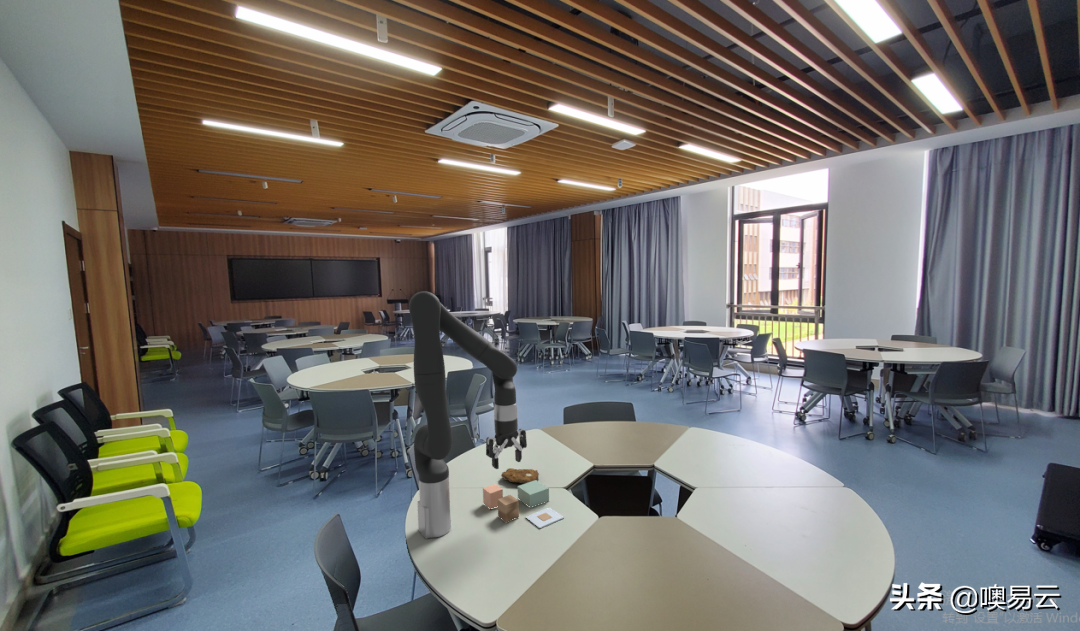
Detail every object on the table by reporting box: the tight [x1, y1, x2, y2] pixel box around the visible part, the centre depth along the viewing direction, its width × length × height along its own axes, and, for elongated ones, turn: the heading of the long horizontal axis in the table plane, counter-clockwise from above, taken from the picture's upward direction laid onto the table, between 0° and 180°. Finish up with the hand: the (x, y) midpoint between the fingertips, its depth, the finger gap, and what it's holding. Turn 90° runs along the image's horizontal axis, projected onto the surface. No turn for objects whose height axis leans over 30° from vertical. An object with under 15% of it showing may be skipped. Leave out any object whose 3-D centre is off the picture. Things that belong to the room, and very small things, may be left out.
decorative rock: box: [500, 468, 540, 484], centre depth 171 cm, size 11×4×15 cm
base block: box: [517, 480, 550, 507], centre depth 155 cm, size 8×8×5 cm
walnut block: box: [497, 494, 520, 523], centre depth 144 cm, size 5×5×6 cm
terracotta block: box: [482, 483, 504, 510], centre depth 152 cm, size 5×5×6 cm
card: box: [524, 506, 565, 529], centre depth 143 cm, size 10×8×1 cm
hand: (507, 464), depth 143 cm, fingers open, 8 cm apart
